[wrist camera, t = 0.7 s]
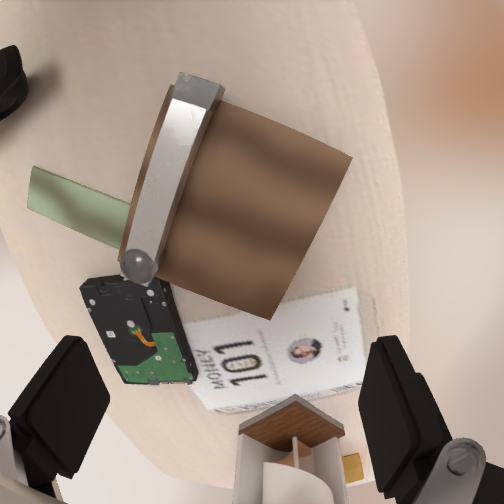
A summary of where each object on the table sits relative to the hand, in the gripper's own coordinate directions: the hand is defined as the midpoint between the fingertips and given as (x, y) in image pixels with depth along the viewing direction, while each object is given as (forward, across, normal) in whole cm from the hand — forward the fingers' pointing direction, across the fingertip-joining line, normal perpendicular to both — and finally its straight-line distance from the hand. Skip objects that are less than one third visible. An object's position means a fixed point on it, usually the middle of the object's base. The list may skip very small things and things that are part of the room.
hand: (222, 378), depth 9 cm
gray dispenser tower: (+22, -4, +33) cm, 39 cm away
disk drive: (+22, +14, +14) cm, 29 cm away
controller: (+21, +25, -16) cm, 36 cm away
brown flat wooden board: (+21, +9, -3) cm, 23 cm away
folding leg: (+18, +6, -3) cm, 19 cm away
